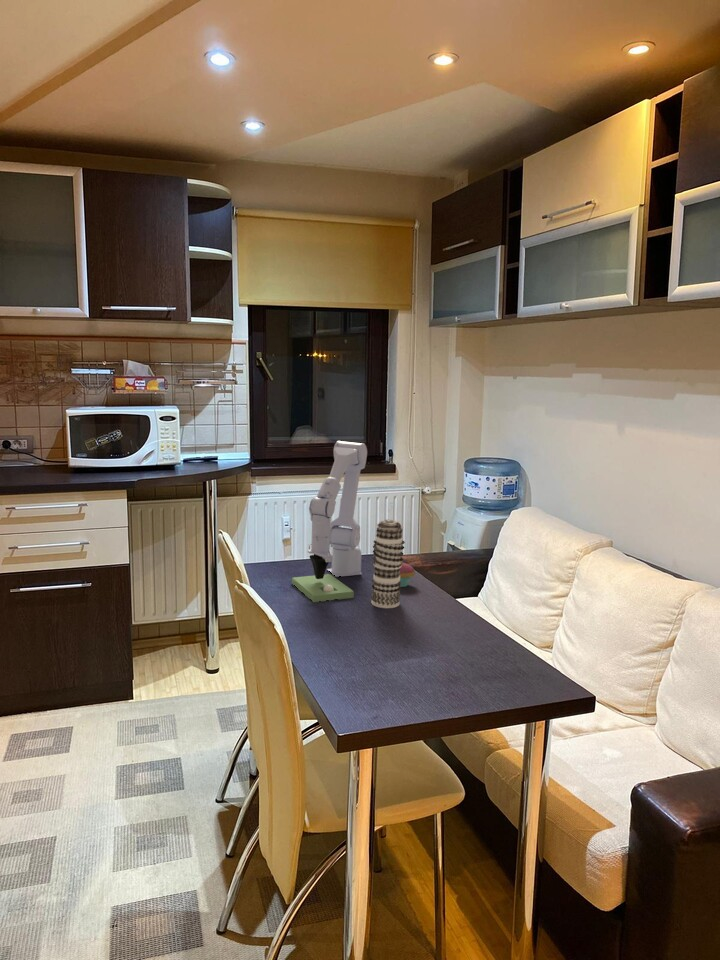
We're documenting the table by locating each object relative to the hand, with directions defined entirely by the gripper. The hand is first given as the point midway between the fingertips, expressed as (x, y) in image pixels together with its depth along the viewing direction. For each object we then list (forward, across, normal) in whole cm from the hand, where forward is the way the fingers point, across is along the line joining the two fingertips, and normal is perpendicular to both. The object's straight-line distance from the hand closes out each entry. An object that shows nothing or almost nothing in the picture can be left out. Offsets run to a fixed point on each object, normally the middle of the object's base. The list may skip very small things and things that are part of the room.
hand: (319, 578), depth 224 cm
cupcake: (+3, +5, +26) cm, 27 cm away
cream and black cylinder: (+3, +19, +13) cm, 23 cm away
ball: (+3, +8, 0) cm, 8 cm away
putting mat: (+3, +2, 0) cm, 4 cm away
